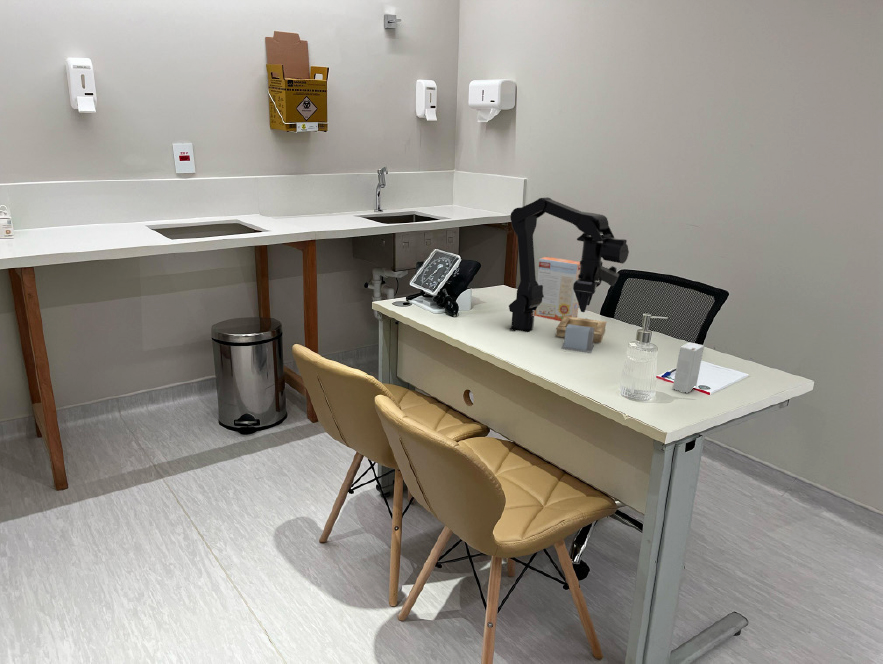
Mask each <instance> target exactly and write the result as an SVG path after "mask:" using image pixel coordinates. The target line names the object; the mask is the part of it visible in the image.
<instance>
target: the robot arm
mask: <svg viewBox="0 0 883 664" xmlns="http://www.w3.org/2000/svg"><path fill="white" fill-rule="evenodd" d="M544 214H547V215H551V216H553V217H556V218H557V219H560V220H562V221H565V222H567V223H570V224H572V225H574V226H575V227H576V228H577V229H578V230H579V231H580V232H582V234H581V235H580V236H578V237H577V238H576V240H577V241H578V242H583V243H582V253H581V258H580V261H579V262H580V265H581V267H580V274H579V275H578V278H579V279H578V280H576V281H575V282H574V285H573V290H574V292H575V295H576V298H577V301H578V304H579V305H578V308H579V310H580V312H581V313H585V312H586V310H587V306H590V304H591V301H592V299H593V296H594V294H595V293H596V290H597V287H599V286H600V285H601V284H602V282H604V283H606V284H607V285H609V286H611V287H614V286H615V284H616V282H617V281H618V278H619V276H620V274H619V273H618V272H617V271H618V270H617V267H615V266H614V265H611V266H610V267H609V268H608V267H605V266H603V262H602V261H607V262H611V263H612V262H613V263H617V264H625V262H627V260H628V257H629V253H630V250H629V246H628V244H627V242H628V240H627V239H623V238H621V239H620V238H616V237H615V236H614V233H613V232H612V230H611V227H610V225H609V220H608V217H606V216H605V215H603V214H600V213H593V212H585V211H581V210H579V209H576V208H574V207H571V206H568V205H566V204H564V203H560V202H559V201H556V200H553V199H552V198H551V197H539V198H538V199H536V200H534V201H533V202H531V203H528V204H526V205H524V206H522V207H515V208H514V209H513V210H512V211H511V213H510V223H511V228H512V229H513V232H514V233H515V234H516V238H517V250H518V263H519V279H520V280H519V281H520V282H519V285H518V286H517V289H516V295H515V296H516V298H515V300H513V301H512V302H510V304H509V305H508V309H509V310H508V311H509V312H510V313H511V326H510V327H509V330H510V331H515V332H516V331H518V332H524V333H530V332H531V331H532V330H533V329H534V324H535V316H534V312H535V310H536V309H537V307H538V306H539V305H540V303H541V302H542V298H543V297H544V295H543V285H538V283H537V279H536V263H535V250H534V233H535V230H536V228H537V223H538V222H537V221H538V218H540V217H542V216H543V215H544ZM602 259H603V260H602ZM580 278H581V279H580Z"/></svg>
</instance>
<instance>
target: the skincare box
mask: <svg viewBox="0 0 883 664" xmlns="http://www.w3.org/2000/svg"><path fill="white" fill-rule="evenodd" d="M704 348H705V345H703V344H698V343H694V342H687V343H685V344H683V345H682V346H680V347H679V352H678V358H677V363H676V368H675V373H674V380H673V385H672V390H674V389H675V390H674V391H676V390H679V391H682V392H681V393H683V392H686V393H685V394H689V393H690V392H692V391H693V390H694V389H693V387H694V386H696V387H697V385H698V379H699V375H700V371H701V369H700V368H701V363H702V359H703V353H704ZM692 389H693V390H692ZM691 390H692V391H691ZM679 391H678V392H679ZM688 392H689V393H688Z"/></svg>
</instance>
